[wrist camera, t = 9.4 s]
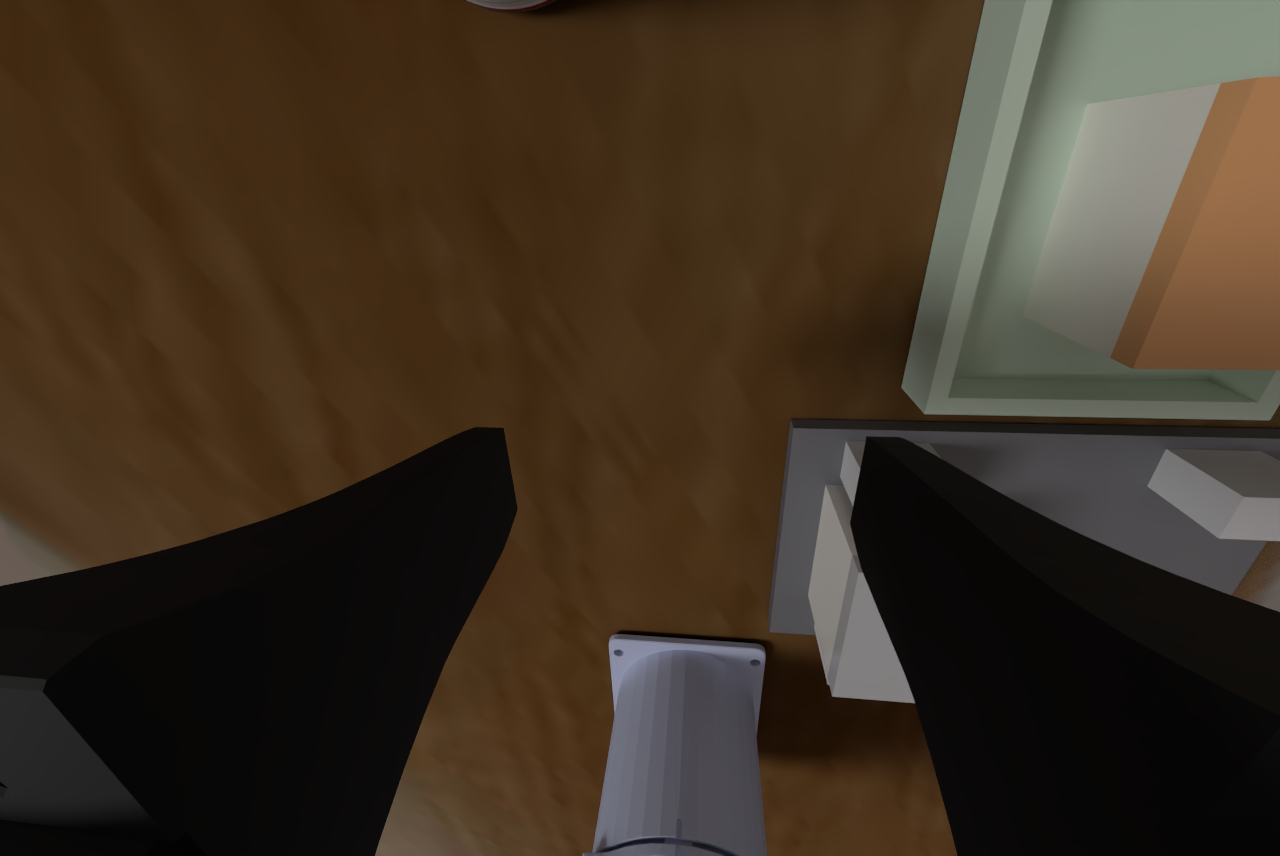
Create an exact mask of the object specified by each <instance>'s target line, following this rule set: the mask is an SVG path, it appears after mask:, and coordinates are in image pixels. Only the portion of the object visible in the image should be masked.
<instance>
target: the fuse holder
mask: <svg viewBox="0 0 1280 856" xmlns="http://www.w3.org/2000/svg"><path fill="white" fill-rule="evenodd" d="M867 436H872V437H901V438H903V439H906V440H908V441H910V442H912V443H914V444H916V445H918V446H920V447H922V448H923V449H925V450H927V451H929V452H931V453H932V454H934V455H936V456H938V457H939V458H941V459H943V460H944V461H946V462H948V463H950V464H951V465H953V466H955V467H956V468H958V469H960V470H962V471H963V472H965V473H967V474H968V475H970V476H972V477H974V478H975V479H977V480H979V481H981V482H982V483H984V484H986V485H988V486H989V487H991V488H993V489H995V490H996V491H998V492H1000V493H1002V494H1004V495H1005V496H1007V497H1009V498H1011V499H1013V500H1015V501H1016V502H1018V503H1020V504H1022V505H1024V506H1026V507H1028V508H1030V509H1032V510H1034V511H1036V512H1038V513H1039V514H1041V515H1043V516H1045V517H1047V518H1049V519H1051V520H1053V521H1055V522H1057V523H1059V524H1061V525H1063V526H1065V527H1067V528H1069V529H1071V530H1074V531H1076V532H1078V533H1080V534H1082V535H1084V536H1086V537H1089V538H1091V539H1093V540H1095V541H1098V542H1100V543H1102V544H1104V545H1107V546H1109V547H1111V548H1113V549H1116V550H1118V551H1120V552H1123V553H1125V554H1127V555H1129V556H1132V557H1134V558H1136V559H1139V560H1141V561H1143V562H1146V563H1148V564H1151V565H1153V566H1156V567H1158V568H1161V569H1163V570H1166V571H1168V572H1171V573H1173V574H1176V575H1178V576H1181V577H1184V578H1186V579H1189V580H1192V581H1194V582H1197V583H1200V584H1202V585H1205V586H1208V587H1210V588H1213V589H1216V590H1218V591H1221V592H1224V593H1226V594H1229V595H1232V594H1233V592H1234V591H1235V589H1236V588H1237V586H1238V585H1239V583H1240V582H1241V580H1242V579H1243V577H1244V576H1245V574H1246V573H1247V571H1248V570H1249V568H1250V567H1251V565H1252V564H1253V562H1254V561H1255V559H1256V558H1257V556H1258V555H1259V553H1260V552H1261V550H1262V549H1263V547H1264V546H1265V544H1266V543H1267V541H1280V429H1269V428H1219V427H1168V426H1118V425H1067V424H1017V423H966V422H916V421H866V420H815V419H790V428H789V437H788V446H787V455H786V463H785V472H784V481H783V490H782V499H781V508H780V517H779V525H778V534H777V543H776V552H775V561H774V570H773V578H772V587H771V596H770V605H769V614H768V623H769V630H770V632H776V633H791V634H806V635H816V638H817V642H818V647H819V651H820V655H821V659H822V664H823V668H824V672H825V676H826V681H827V685H829V681H828V677H827V673H826V669H825V664H824V660H823V656H822V652H821V648H820V643H819V639H818V635H817V631H816V627H815V622H814V618H813V614H812V610H811V606H810V601H809V597H808V592H809V586H810V580H811V573H812V567H813V561H814V555H815V548H816V542H817V536H818V529H819V523H820V517H821V510H822V504H823V498H824V491H825V485H844V487H845V489H846V492H847V494H848V496H849V499H850V501H851V503H852V506H853V504H854V499H855V494H856V489H857V483H858V478H859V473H860V468H861V463H862V457H863V452H864V447H865V442H866V437H867Z"/></svg>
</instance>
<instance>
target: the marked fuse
mask: <svg viewBox="0 0 1280 856" xmlns="http://www.w3.org/2000/svg"><path fill="white" fill-rule="evenodd" d="M1022 316H1023V317H1025V318H1027V319H1030V320H1032V321H1034V322H1036V323H1038V324H1040V325H1042V326H1044V327H1046V328H1048V329H1050V330H1052V331H1055V332H1057V333H1059V334H1061V335H1063V336H1065V337H1067V338H1069V339H1071V340H1073V341H1075V342H1077V343H1080V344H1082V345H1084V346H1086V347H1088V348H1090V349H1092V350H1094V351H1096V352H1098V353H1100V354H1102V355H1104V356H1107V357H1109V358H1111V359H1113V360H1115V361H1117V362H1119V363H1121V364H1123V365H1125V366H1127V367H1129V368H1132V369H1207V370H1280V76H1277V77H1258V78H1251V79H1245V80H1238V81H1232V82H1226V83H1219V84H1213V85H1206V86H1200V87H1193V88H1187V89H1181V90H1174V91H1168V92H1161V93H1155V94H1149V95H1142V96H1136V97H1129V98H1123V99H1116V100H1110V101H1104V102H1097V103H1091V104H1087V107H1086V110H1085V114H1084V117H1083V120H1082V123H1081V127H1080V130H1079V133H1078V136H1077V140H1076V143H1075V146H1074V149H1073V153H1072V156H1071V159H1070V162H1069V165H1068V169H1067V172H1066V175H1065V178H1064V182H1063V185H1062V188H1061V191H1060V195H1059V198H1058V201H1057V204H1056V208H1055V211H1054V214H1053V217H1052V220H1051V224H1050V227H1049V230H1048V233H1047V237H1046V240H1045V243H1044V246H1043V250H1042V253H1041V256H1040V259H1039V263H1038V266H1037V269H1036V272H1035V276H1034V279H1033V282H1032V285H1031V288H1030V292H1029V295H1028V298H1027V301H1026V305H1025V308H1024V311H1023V314H1022Z"/></svg>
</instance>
